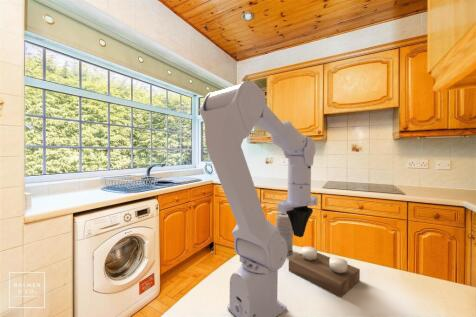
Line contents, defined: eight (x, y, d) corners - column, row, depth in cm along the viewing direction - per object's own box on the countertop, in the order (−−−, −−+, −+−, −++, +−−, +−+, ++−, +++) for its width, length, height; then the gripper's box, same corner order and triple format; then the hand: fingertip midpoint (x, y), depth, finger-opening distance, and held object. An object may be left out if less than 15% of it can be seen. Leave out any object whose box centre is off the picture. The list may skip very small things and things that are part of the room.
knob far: (311, 274, 56) (311, 254, 56) (298, 267, 59) (298, 249, 59) (319, 269, 58) (319, 250, 58) (306, 263, 61) (306, 245, 61)
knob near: (342, 289, 49) (342, 267, 49) (325, 281, 53) (326, 260, 52) (350, 282, 52) (350, 261, 52) (333, 275, 55) (334, 255, 55)
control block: (340, 297, 47) (340, 284, 47) (288, 270, 58) (288, 259, 58) (359, 281, 53) (359, 269, 53) (309, 259, 64) (309, 249, 64)
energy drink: (291, 248, 71) (291, 212, 71) (293, 256, 66) (294, 217, 66) (274, 247, 72) (275, 212, 72) (276, 255, 67) (276, 216, 66)
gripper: (295, 187, 47) (294, 248, 48) (328, 182, 56) (327, 233, 57) (271, 184, 53) (270, 238, 53) (305, 180, 62) (304, 226, 62)
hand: (298, 235), depth 55 cm, fingers closed
